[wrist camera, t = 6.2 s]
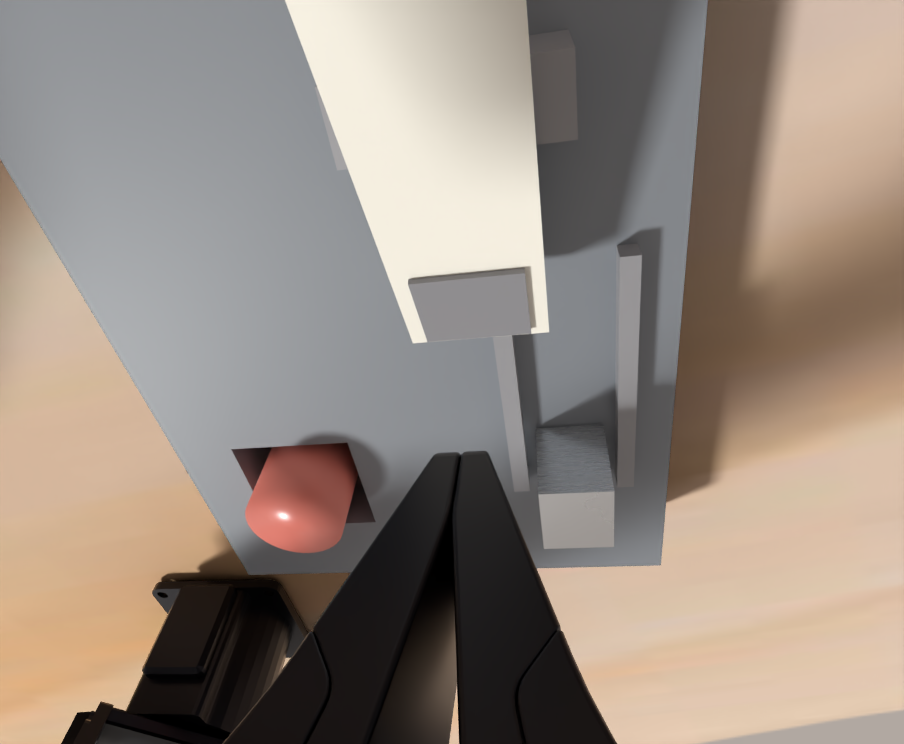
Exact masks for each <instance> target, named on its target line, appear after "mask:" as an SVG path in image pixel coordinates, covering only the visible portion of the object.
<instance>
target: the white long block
mask: <svg viewBox="0 0 904 744" xmlns="http://www.w3.org/2000/svg"><path fill="white" fill-rule="evenodd" d="M285 2H286V5H287V7H288V10H289V13H290V15H291V18H292V21H293V23H294V26H295V29H296V31H297V34H298V37H299V39H300V42H301V45H302V47H303V50H304V53H305V55H306V58H307V61H308V63H309V66H310V69H311V72H312V74H313V77H314V80H315V82H316V85H317V88H318V90H319V93H320V96H321V98H322V101H323V104H324V106H325V109H326V112H327V114H328V117H329V120H330V122H331V125H332V128H333V130H334V133H335V136H336V138H337V141H338V144H339V147H340V149H341V152H342V155H343V157H344V160H345V163H346V165H347V168H348V171H349V173H350V176H351V179H352V181H353V184H354V187H355V189H356V192H357V195H358V197H359V200H360V203H361V205H362V208H363V211H364V213H365V216H366V219H367V221H368V224H369V227H370V230H371V232H372V235H373V238H374V240H375V243H376V246H377V248H378V251H379V254H380V256H381V259H382V262H383V264H384V267H385V270H386V272H387V275H388V278H389V280H390V283H391V286H392V288H393V291H394V294H395V296H396V299H397V302H398V305H399V307H400V310H401V313H402V315H403V318H404V321H405V323H406V326H407V329H408V331H409V334H410V337H411V339H412V342H413V343H424V342H436V341H449V340H461V339H473V338H485V337H498V336H510V335H522V334H534V333H546V332H549V322H548V307H547V293H546V278H545V264H544V249H543V235H542V220H541V206H540V192H539V177H538V163H537V148H536V134H535V119H534V105H533V90H532V76H531V61H530V47H529V32H528V18H527V3H526V0H285Z"/></svg>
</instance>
